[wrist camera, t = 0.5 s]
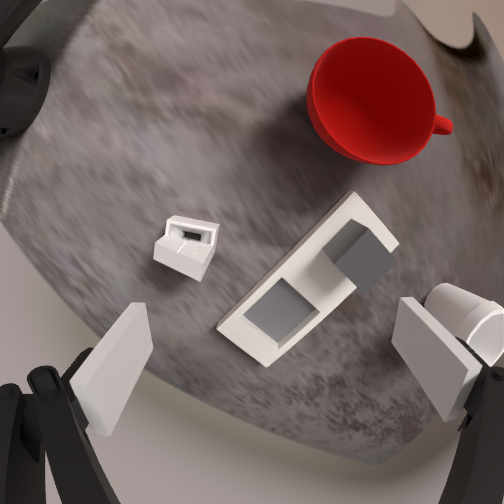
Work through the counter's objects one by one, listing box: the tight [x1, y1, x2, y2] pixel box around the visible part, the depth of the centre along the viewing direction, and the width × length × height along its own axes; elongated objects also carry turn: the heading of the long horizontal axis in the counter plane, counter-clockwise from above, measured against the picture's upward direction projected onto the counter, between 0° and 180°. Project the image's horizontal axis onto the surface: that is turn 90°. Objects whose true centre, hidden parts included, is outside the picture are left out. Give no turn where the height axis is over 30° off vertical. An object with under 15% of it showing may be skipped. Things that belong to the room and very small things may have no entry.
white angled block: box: [153, 215, 220, 282], centre depth 33 cm, size 4×10×9 cm, turn 78°
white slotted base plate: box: [216, 190, 399, 367], centre depth 34 cm, size 9×24×8 cm, turn 137°
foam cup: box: [424, 283, 504, 366], centre depth 33 cm, size 10×9×13 cm
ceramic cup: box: [307, 37, 453, 165], centre depth 28 cm, size 13×17×10 cm
